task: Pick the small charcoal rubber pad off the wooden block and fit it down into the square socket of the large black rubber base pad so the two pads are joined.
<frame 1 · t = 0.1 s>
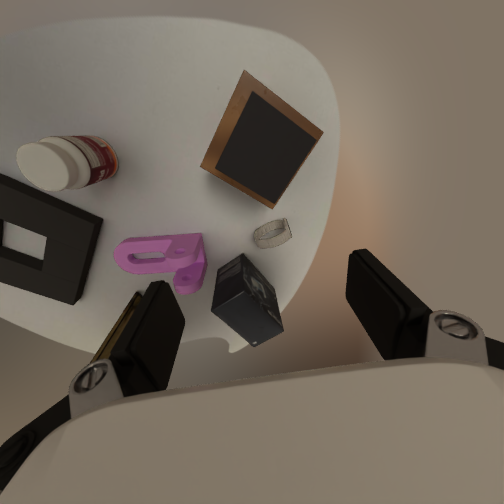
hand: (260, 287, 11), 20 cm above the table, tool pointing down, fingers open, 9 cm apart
wristwatch: (269, 225, 31), on the table
book: (136, 321, 40), on the table
box: (247, 278, 36), on the table
base pad: (29, 238, 30), on the table
pad: (260, 149, 19), point 8 cm above the table, touching wooden block
wooden block: (255, 144, 26), on the table
pill bottle: (99, 157, 26), on the table
bracket: (162, 251, 33), on the table
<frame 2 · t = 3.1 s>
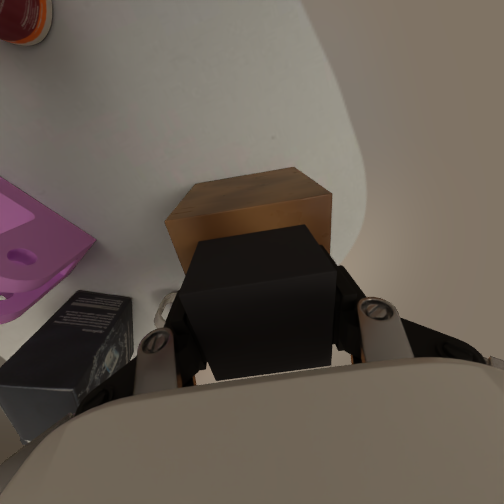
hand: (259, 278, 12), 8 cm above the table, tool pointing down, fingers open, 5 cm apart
wristwatch: (190, 296, 23), on the table
box: (110, 322, 24), on the table
pad: (258, 275, 12), point 8 cm above the table, touching gripper, wooden block
wooden block: (252, 221, 19), on the table
bracket: (4, 209, 17), on the table
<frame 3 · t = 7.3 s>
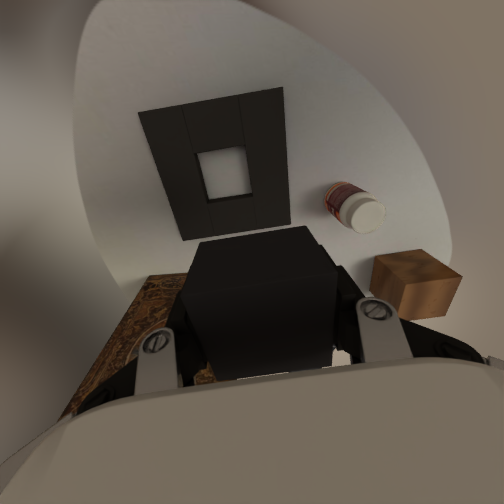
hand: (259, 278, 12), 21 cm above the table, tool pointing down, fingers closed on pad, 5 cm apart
book: (192, 284, 39), on the table
base pad: (225, 173, 29), on the table
pad: (259, 276, 12), point 21 cm above the table, touching gripper
wooden block: (393, 270, 39), on the table
pill bottle: (338, 197, 32), on the table
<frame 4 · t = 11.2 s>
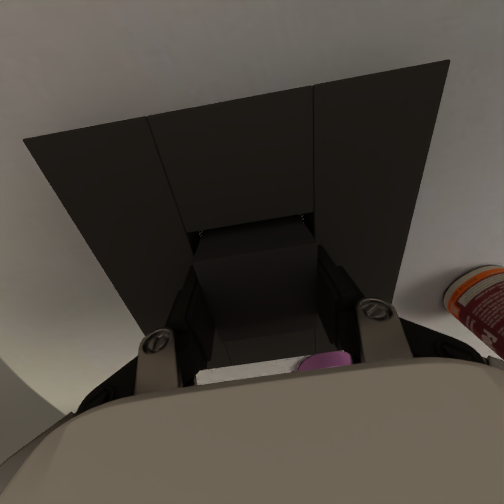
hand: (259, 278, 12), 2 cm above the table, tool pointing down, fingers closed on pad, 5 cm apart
base pad: (256, 256, 14), on the table
pad: (256, 257, 14), resting in base pad, touching gripper
pill bottle: (471, 288, 16), on the table
bracket: (345, 381, 22), on the table
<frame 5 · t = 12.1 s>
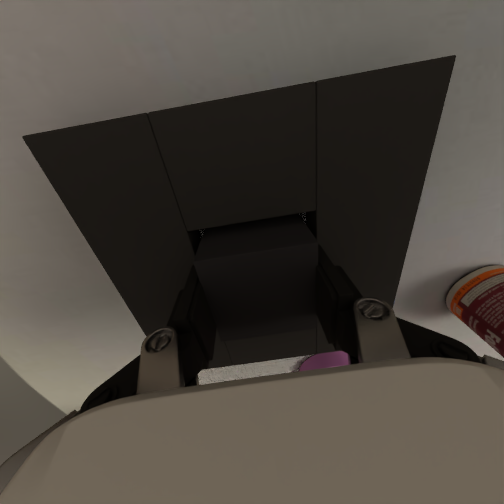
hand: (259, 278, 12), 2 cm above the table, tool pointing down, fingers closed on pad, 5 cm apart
base pad: (257, 255, 14), on the table
pad: (257, 256, 14), resting in base pad, touching gripper
pill bottle: (474, 287, 16), on the table
bracket: (346, 381, 22), on the table
when the fingers open (2 cm above the table, at t = 12.1 s): pad stays where it is, resting in base pad.
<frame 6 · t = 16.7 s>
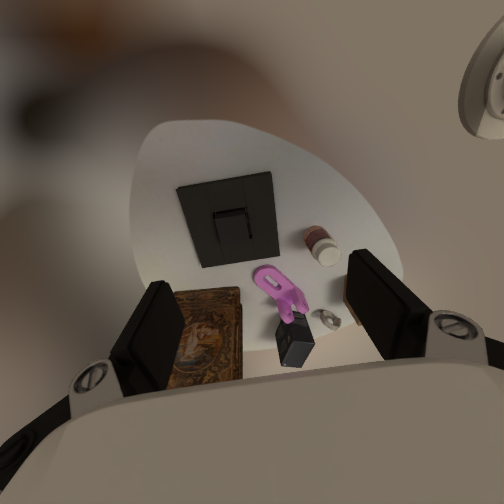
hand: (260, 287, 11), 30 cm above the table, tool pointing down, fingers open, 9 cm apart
wristwatch: (326, 311, 55), on the table
book: (207, 297, 51), on the table
box: (289, 322, 57), on the table
base pad: (233, 222, 41), on the table
pad: (233, 222, 41), resting in base pad
pill bottle: (314, 235, 44), on the table
bracket: (276, 283, 50), on the table
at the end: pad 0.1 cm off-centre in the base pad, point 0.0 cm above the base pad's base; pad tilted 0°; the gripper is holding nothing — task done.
